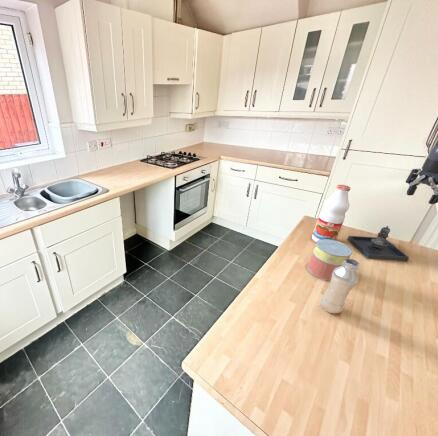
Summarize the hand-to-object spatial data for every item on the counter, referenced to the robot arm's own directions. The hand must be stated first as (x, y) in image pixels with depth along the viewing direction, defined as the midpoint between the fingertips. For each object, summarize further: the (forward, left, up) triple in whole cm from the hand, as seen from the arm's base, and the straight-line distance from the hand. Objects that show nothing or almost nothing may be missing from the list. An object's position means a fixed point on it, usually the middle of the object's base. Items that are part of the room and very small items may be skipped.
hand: (420, 199), depth 95 cm
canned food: (+34, +16, -27) cm, 46 cm away
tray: (+4, -3, -27) cm, 27 cm away
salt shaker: (+4, -2, -26) cm, 27 cm away
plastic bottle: (+41, +36, -27) cm, 61 cm away
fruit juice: (+24, -7, -27) cm, 37 cm away
